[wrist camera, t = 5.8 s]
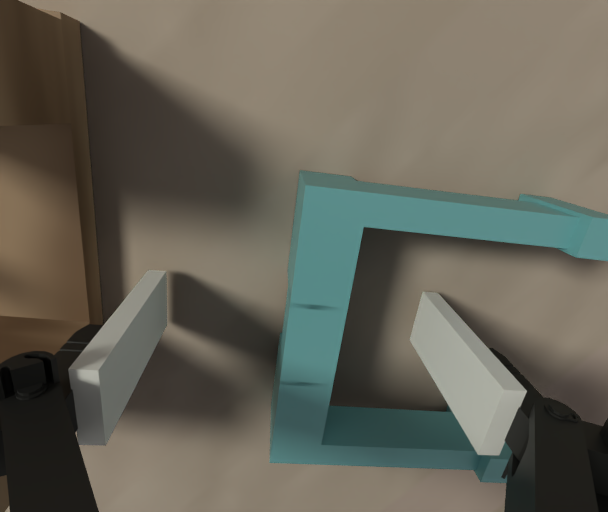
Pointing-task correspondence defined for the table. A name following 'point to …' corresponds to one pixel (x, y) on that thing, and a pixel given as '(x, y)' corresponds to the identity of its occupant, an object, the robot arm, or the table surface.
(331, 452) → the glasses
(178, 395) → the table surface
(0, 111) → the stand
